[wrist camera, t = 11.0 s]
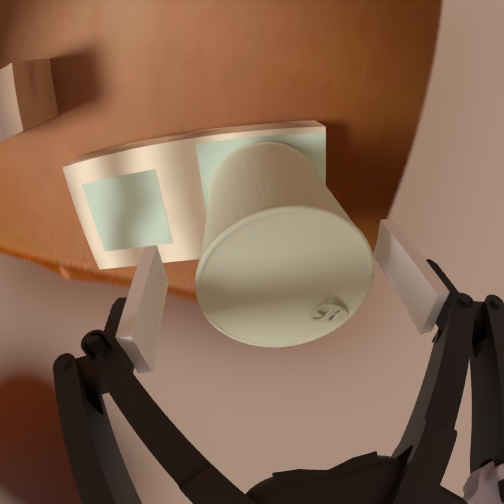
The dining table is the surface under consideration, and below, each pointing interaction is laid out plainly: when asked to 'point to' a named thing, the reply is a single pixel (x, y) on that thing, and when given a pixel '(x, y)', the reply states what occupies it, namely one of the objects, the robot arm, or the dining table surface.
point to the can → (278, 251)
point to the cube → (26, 96)
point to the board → (167, 187)
